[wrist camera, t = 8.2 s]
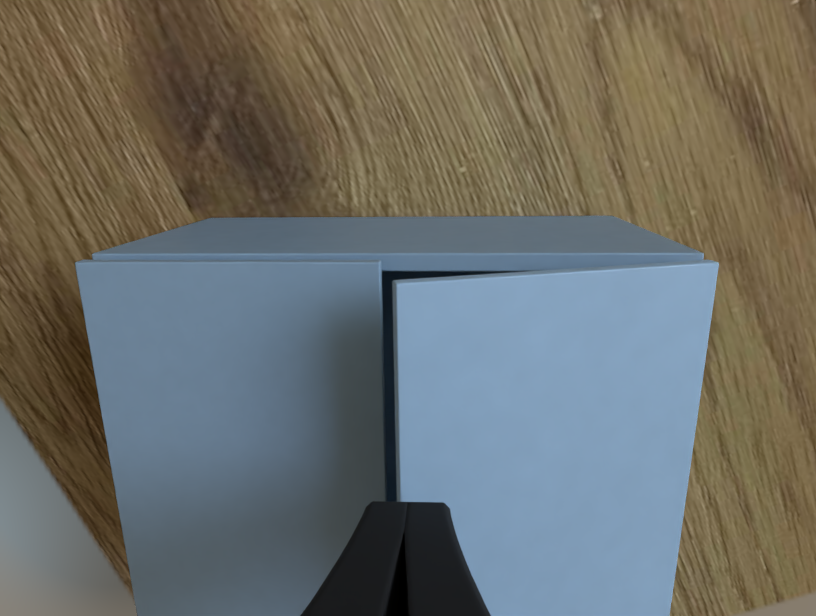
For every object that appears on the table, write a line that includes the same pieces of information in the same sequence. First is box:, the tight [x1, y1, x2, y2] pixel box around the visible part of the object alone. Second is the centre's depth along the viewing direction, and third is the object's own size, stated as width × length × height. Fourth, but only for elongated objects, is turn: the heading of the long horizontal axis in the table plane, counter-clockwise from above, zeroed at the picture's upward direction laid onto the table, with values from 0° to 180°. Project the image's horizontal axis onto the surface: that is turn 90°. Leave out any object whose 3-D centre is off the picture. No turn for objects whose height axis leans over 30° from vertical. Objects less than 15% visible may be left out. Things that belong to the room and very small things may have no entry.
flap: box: [392, 260, 719, 616], centre depth 12 cm, size 6×11×1 cm, turn 1°
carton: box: [75, 216, 704, 616], centre depth 16 cm, size 13×11×7 cm
